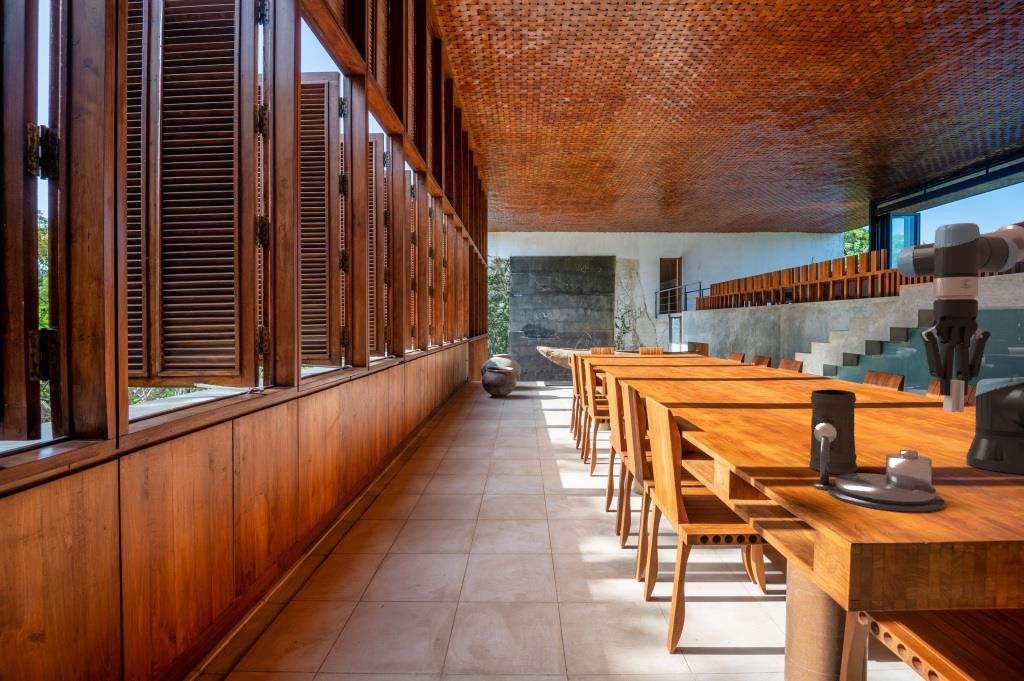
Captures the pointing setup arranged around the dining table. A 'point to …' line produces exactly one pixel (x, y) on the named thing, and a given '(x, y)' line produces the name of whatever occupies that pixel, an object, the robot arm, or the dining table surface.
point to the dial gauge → (824, 453)
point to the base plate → (924, 508)
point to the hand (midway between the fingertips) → (953, 411)
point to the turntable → (882, 490)
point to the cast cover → (908, 470)
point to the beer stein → (840, 414)
